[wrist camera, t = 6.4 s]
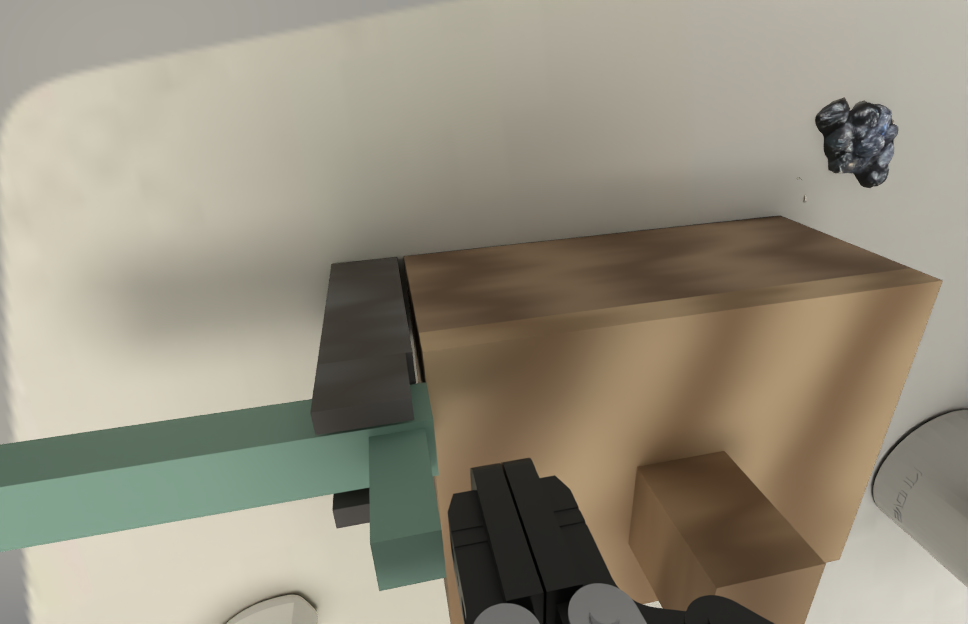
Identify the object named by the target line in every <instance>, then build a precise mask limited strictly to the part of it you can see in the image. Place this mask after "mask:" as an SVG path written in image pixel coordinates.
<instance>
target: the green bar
mask: <svg viewBox="0 0 968 624" xmlns="http://www.w3.org/2000/svg"><path fill="white" fill-rule="evenodd" d="M410 390H411V397H412V405H413V413H414V420H410V421H403V422H397V423H391V424H384V425H378V426H371V427H365V428H359V429H352V430H346V431H340V432H333V433H327V434H320V435H315V431H314V427H313V423H312V418H311V414H310V411H311V404H312V399H310V400H303V401H296V402H289V403H282V404H276V405H269V406H262V407H255V408H248V409H241V410H235V411H228V412H221V413H214V414H207V415H200V416H194V417H187V418H180V419H173V420H166V421H159V422H153V423H146V424H139V425H132V426H125V427H118V428H112V429H105V430H98V431H91V432H84V433H77V434H71V435H64V436H57V437H50V438H43V439H36V440H29V441H23V442H16V443H9V444H2V445H0V552H3V551H8V550H14V549H20V548H26V547H31V546H37V545H43V544H49V543H54V542H60V541H66V540H71V539H77V538H83V537H89V536H94V535H100V534H106V533H112V532H117V531H123V530H129V529H134V528H140V527H146V526H152V525H157V524H163V523H169V522H175V521H180V520H186V519H192V518H197V517H203V516H209V515H215V514H220V513H226V512H232V511H238V510H243V509H249V508H255V507H260V506H266V505H272V504H278V503H283V502H289V501H295V500H301V499H306V498H312V497H318V496H323V495H329V494H335V493H341V492H346V491H352V490H358V489H364V488H369V496H370V545H371V550H372V555H373V560H374V566H375V571H376V576H377V581H378V586H379V591H382V590H387V589H392V588H397V587H401V586H406V585H411V584H416V583H421V582H426V581H431V580H435V579H440V578H445V577H446V567H445V558H444V549H443V539H442V530H441V524H440V518H439V512H438V505H437V499H436V493H435V487H434V481H433V476H438V475H439V470H438V460H437V450H436V441H435V431H434V421H433V415H432V410H431V404H430V399H429V394H428V389H427V383H419V384H412V385H410Z"/></svg>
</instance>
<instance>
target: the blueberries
mask: <svg viewBox="0 0 968 624" xmlns="http://www.w3.org/2000/svg"><path fill="white" fill-rule="evenodd" d="M849 110H850V108H849V105H848V102H847V101H846V99H845V98H842V99H839V100H836V101H833V102H832V103H830V104H829V105H827V106H826V107H824V108H823V109H822V110H821V111H820V112H819V113H818V114H817V116H816V119H815V122H816V126H817V128H818V129H819V131H820V132H821V133H822V134H823V136H824V152H825V155H826V156H827V158H828V169H829V170H830V171H832V172H834V173H854V175H855V177H856V178H857V180H858V181H859V183H860V185H861V186H863V187H866V188H871V187H873V186H878V185H880V184H882V183H883V182H884V181H885V180H886V178H887V175H888V172H889V167H888V164H889V162H890V161H891V159H892V157H893V154H894V143H893V140H894V138H895V137H896V136H897V134H898V127H897V125H895V124H893V122H894V120H892V119H891V117H892V113H891V110H890V109H888V108H887V107H885V106H883V105H880V104H875V105H874V104H871V103H867V102H866V101H862V102H858V103H857V104H855V106H854V107H853V109H852V110H851V111H849ZM797 179H801V178H800V177H799V178H797ZM805 201H806V195H805Z"/></svg>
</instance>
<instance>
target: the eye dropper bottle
mask: <svg viewBox="0 0 968 624" xmlns="http://www.w3.org/2000/svg"><path fill="white" fill-rule="evenodd" d="M317 623H318V614H317V612H316V610H315V609H314V608H313V607H312V606H311V605H310V604H309V603H308V602H307V601H306V600H305V599H304V598H302V597H301V596H299V595H286V596H281V597H276V598H273V599H269V600H266V601H263V602H260V603H258V604H256V605H253V606H251V607H249V608H247V609H245V610H244V611H242V612H240V613H239V614H237V615H236V616H235V617H233V618H232V619H231V620H229V621H228V622H227V623H226V624H317Z"/></svg>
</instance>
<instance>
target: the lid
mask: <svg viewBox="0 0 968 624" xmlns="http://www.w3.org/2000/svg"><path fill="white" fill-rule="evenodd" d="M941 284H942V280H940V279H937V278H935V277H932V276H930V275H927V274H925V273H922V272H920V271H917V270H915V269H912V268H909V269H902V270H894V271H886V272H879V273H871V274H864V275H856V276H848V277H841V278H833V279H825V280H818V281H810V282H803V283H795V284H787V285H780V286H772V287H764V288H757V289H749V290H742V291H734V292H726V293H719V294H711V295H704V296H696V297H688V298H681V299H673V300H665V301H658V302H650V303H643V304H635V305H627V306H620V307H612V308H605V309H597V310H589V311H582V312H574V313H566V314H559V315H551V316H544V317H536V318H528V319H521V320H513V321H505V322H498V323H490V324H483V325H475V326H467V327H460V328H452V329H445V330H437V331H429V332H422V333H419V338H420V347H421V357H422V366H423V375H424V383H427V389H428V394H429V399H430V404H431V410H432V415H433V421H434V431H435V441H436V450H437V460H438V470H439V475H438V476H435V485H436V494H437V504H438V512H439V518H440V524H441V530H442V539H443V549H444V558H445V567H446V586H447V596H448V605H449V614H450V622H451V624H464V623H463V617H462V612H461V606H460V600H459V594H458V589H457V583H456V577H455V572H454V566H453V561H452V554H451V543H450V533H449V522H448V509H449V506H450V502H451V499H452V496H453V494H455V493H460V492H466V491H471V478H470V468H473V467H479V466H484V465H490V464H496V463H500V464H501V462H507V461H512V460H518V459H524V458H531V460H532V461H533V464H534V466H535V468H536V471H537V473H538V476H539V478H543V477H548V476H554V475H555V476H556V477H557V478H558V479H560V480H561V481H562V482H563V483H564V484H565V485H566V486H567V487H568V488H570V490H571V492H572V494H573V496H574V498H575V500H576V502H577V505H578V507H579V510H580V511H581V513H582V515H583V517H584V519H585V523H586V525H587V526H588V528H589V530H590V532H591V534H592V536H593V538H594V541H595V543H596V545H597V547H598V549H599V551H600V553H601V555H602V557H603V560H604V562H605V564H606V566H607V568H608V570H609V572H610V574H611V577H612V578H613V580H614V582H615V584H616V585H617V586H618V587H619V589H620V590H622V591H624V592H625V593H626V594H627V595H628V596H629V597H630V598H631V599H633V600H634V601H636V602H638V603H641V604H646V603H650V602H654V601H659V602H660V604H661V606H662V608H663V609H671V610H680V611H686V610H687V608H688V606H689V605H690V603H691V602H692V601H694V600H695V599H697V598H699V597H702V596H706V595H717V596H722V597H725V598H728V599H731V600H733V601H735V602H737V603H739V604H740V605H742V606H744V607H746V608H748V609H749V610H751V611H753V612H755V613H756V614H758V615H760V616H762V617H764V618H765V619H767V620H769V621H771V622H773V623H774V624H805V621H806V618H807V615H808V612H809V610H810V607H811V604H812V601H813V598H814V595H815V593H816V590H817V587H818V584H819V581H820V579H821V576H822V573H823V570H824V567H825V565H826V562H831V561H835V560H839V559H840V557H841V554H842V551H843V549H844V546H845V543H846V541H847V538H848V535H849V532H850V530H851V527H852V524H853V522H854V519H855V516H856V514H857V511H858V508H859V505H860V503H861V500H862V497H863V495H864V492H865V489H866V487H867V484H868V481H869V478H870V476H871V473H872V470H873V468H874V465H875V462H876V460H877V457H878V454H879V451H880V449H881V446H882V443H883V441H884V438H885V435H886V433H887V430H888V427H889V424H890V422H891V419H892V416H893V414H894V411H895V408H896V406H897V403H898V400H899V397H900V395H901V392H902V389H903V387H904V384H905V381H906V378H907V376H908V373H909V370H910V368H911V365H912V362H913V360H914V357H915V354H916V351H917V349H918V346H919V343H920V341H921V338H922V335H923V333H924V330H925V327H926V324H927V322H928V319H929V316H930V314H931V311H932V308H933V306H934V303H935V300H936V297H937V295H938V292H939V289H940V287H941Z"/></svg>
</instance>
